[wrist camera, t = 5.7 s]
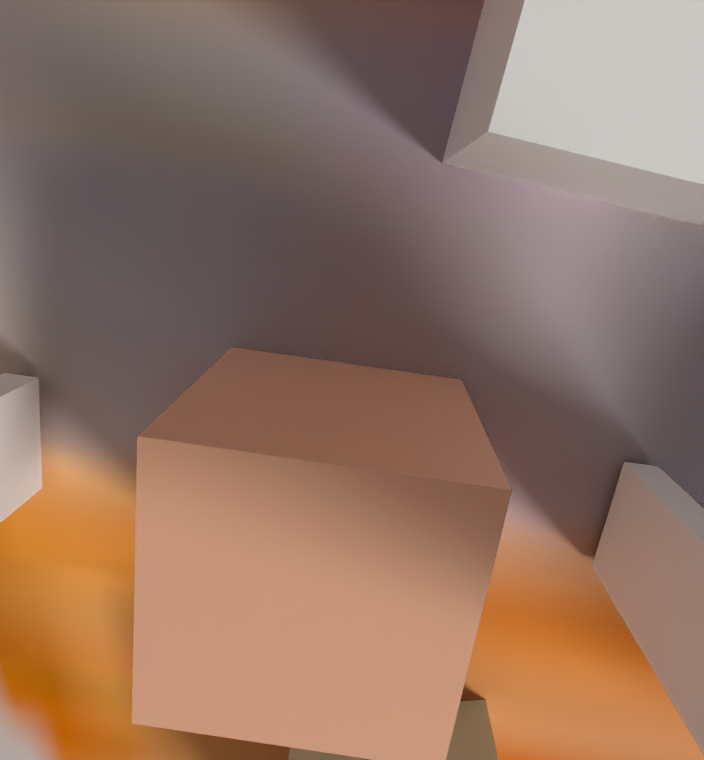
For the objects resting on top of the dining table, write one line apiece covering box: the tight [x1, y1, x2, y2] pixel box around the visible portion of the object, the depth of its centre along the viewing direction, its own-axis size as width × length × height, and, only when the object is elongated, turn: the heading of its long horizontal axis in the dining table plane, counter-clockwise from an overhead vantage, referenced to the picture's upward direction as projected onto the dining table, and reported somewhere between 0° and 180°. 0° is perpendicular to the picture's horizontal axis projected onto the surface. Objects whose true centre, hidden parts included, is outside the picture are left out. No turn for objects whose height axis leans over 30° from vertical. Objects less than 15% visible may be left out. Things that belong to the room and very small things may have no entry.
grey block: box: [442, 0, 704, 225], centre depth 8 cm, size 5×5×5 cm
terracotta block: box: [132, 347, 512, 760], centre depth 11 cm, size 5×5×5 cm
